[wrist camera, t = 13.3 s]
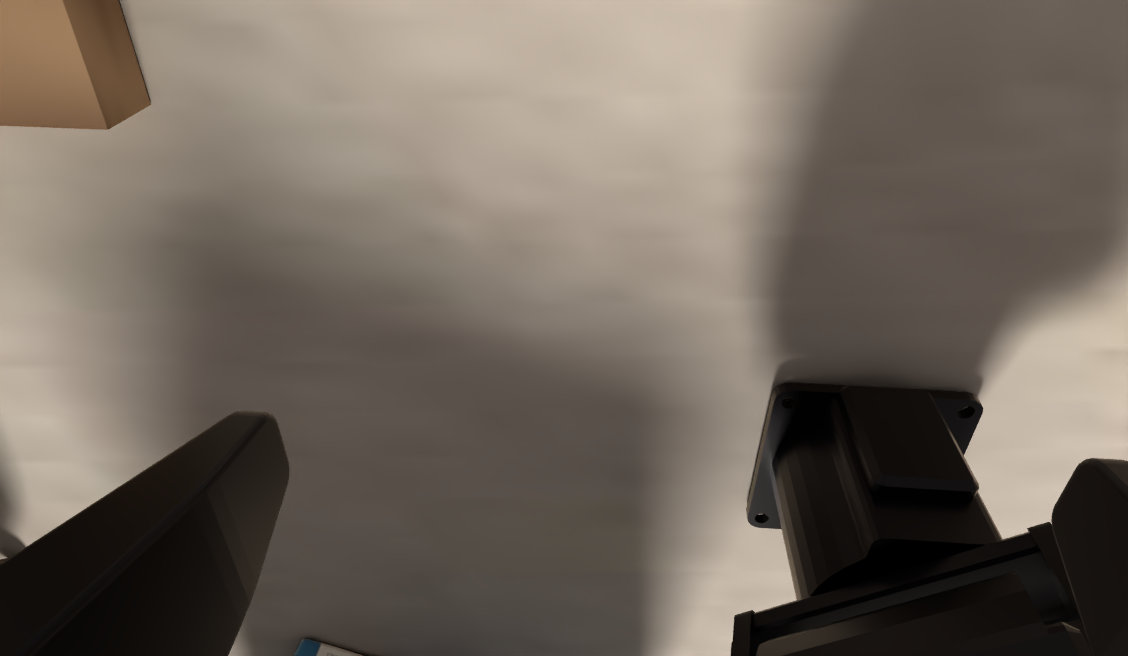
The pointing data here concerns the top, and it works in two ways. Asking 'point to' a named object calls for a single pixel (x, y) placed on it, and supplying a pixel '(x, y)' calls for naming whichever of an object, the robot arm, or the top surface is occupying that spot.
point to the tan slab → (67, 65)
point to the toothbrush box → (320, 649)
